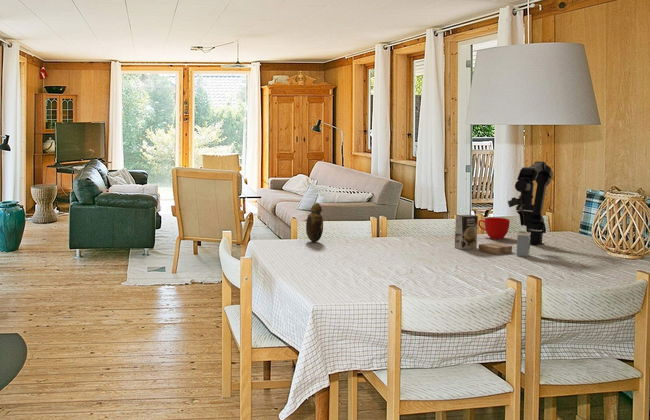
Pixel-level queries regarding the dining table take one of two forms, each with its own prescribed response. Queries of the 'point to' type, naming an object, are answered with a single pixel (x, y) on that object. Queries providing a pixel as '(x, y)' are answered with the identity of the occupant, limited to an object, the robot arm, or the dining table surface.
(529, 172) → the robot arm
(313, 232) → the sculpture
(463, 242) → the coffee box
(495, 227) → the ceramic cup
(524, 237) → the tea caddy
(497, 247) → the tan wooden flat block
